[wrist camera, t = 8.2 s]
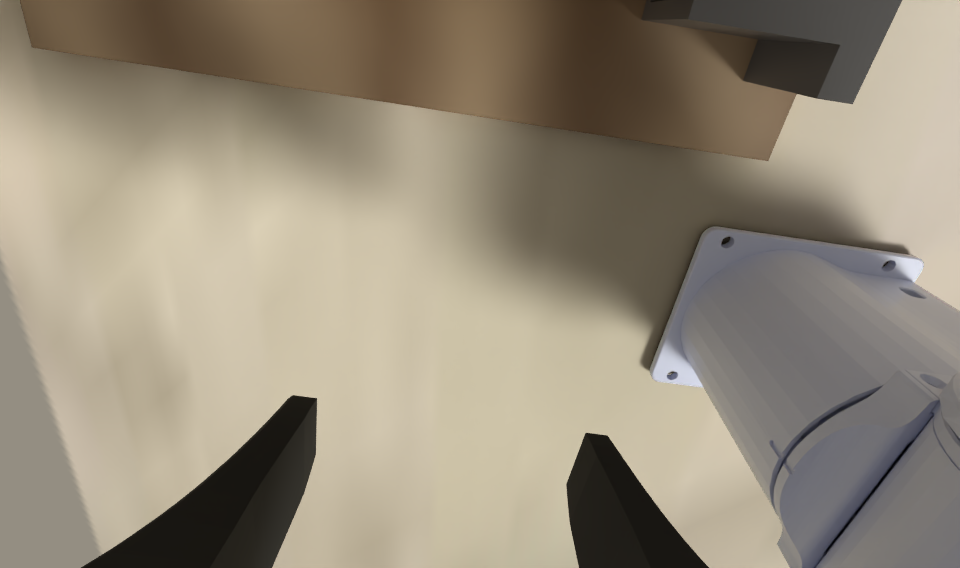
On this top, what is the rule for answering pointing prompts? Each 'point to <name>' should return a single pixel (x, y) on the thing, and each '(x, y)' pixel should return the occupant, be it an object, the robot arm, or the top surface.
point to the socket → (794, 38)
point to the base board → (453, 59)
